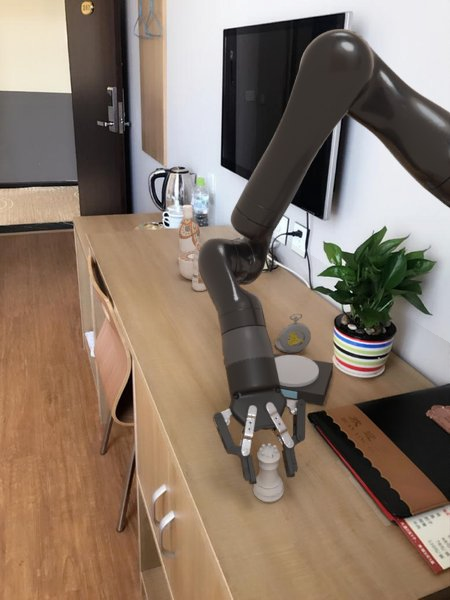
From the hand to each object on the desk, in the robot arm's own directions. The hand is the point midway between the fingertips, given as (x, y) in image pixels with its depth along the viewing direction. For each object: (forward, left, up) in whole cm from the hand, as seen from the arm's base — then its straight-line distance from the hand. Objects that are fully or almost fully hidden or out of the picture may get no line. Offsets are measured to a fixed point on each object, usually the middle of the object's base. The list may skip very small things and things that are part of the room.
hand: (272, 479), depth 70 cm
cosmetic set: (+43, -74, -4) cm, 85 cm away
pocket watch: (+7, -42, -4) cm, 42 cm away
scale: (+4, -30, -4) cm, 30 cm away
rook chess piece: (+1, -2, -4) cm, 5 cm away
